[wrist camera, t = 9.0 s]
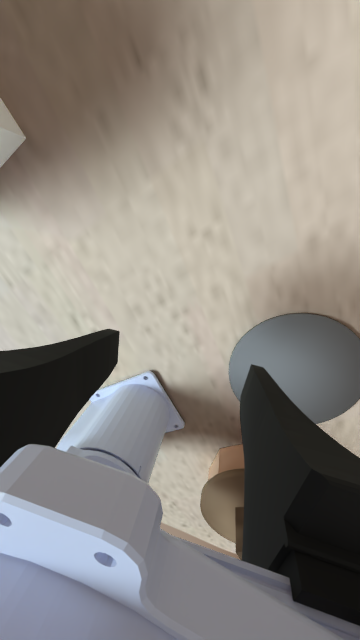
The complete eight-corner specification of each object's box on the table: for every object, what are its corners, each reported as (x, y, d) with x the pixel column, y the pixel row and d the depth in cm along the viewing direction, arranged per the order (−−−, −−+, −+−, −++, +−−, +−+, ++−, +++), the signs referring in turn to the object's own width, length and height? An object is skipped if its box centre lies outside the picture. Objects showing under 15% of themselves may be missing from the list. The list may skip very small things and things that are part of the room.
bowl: (230, 502, 30) (230, 540, 26) (199, 452, 28) (194, 485, 24) (303, 494, 27) (314, 535, 23) (274, 437, 25) (281, 472, 21)
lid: (225, 543, 27) (224, 597, 23) (184, 476, 24) (174, 524, 20) (328, 539, 23) (348, 603, 19) (292, 460, 20) (307, 515, 16)
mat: (256, 433, 25) (257, 436, 25) (208, 342, 22) (208, 344, 22) (384, 405, 21) (387, 408, 21) (344, 290, 18) (346, 291, 18)
